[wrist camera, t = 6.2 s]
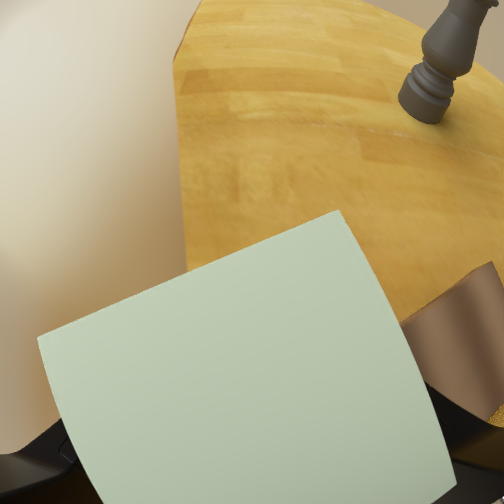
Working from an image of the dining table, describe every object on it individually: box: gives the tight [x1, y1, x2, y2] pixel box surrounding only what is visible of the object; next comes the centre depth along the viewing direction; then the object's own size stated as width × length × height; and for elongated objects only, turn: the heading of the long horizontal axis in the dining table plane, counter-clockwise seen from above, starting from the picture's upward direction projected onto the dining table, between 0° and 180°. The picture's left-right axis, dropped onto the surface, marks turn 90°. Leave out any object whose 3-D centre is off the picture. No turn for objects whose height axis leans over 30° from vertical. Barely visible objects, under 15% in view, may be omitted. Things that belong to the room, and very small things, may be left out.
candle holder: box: [398, 0, 499, 124], centre depth 17 cm, size 6×6×25 cm
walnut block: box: [399, 261, 504, 421], centre depth 19 cm, size 12×12×3 cm
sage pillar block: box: [37, 210, 457, 504], centre depth 9 cm, size 5×5×13 cm
